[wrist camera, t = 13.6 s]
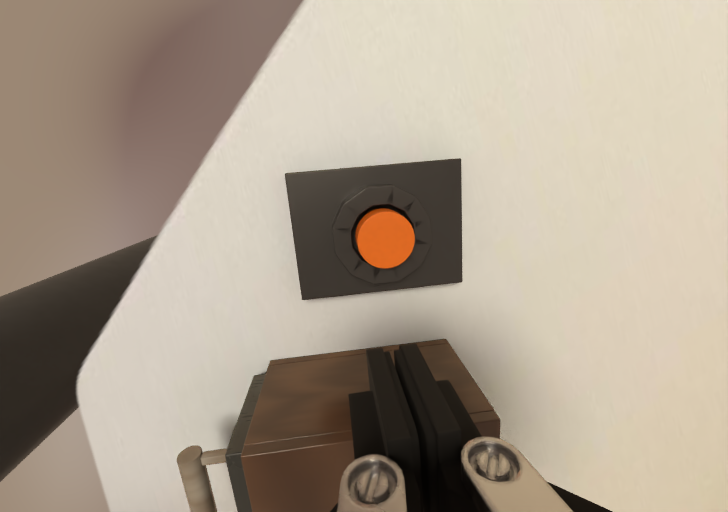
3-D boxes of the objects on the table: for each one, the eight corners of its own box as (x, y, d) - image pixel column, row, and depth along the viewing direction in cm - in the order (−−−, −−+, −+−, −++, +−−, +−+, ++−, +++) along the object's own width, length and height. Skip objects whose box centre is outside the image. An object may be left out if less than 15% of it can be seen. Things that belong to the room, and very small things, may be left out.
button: (357, 263, 23) (360, 271, 22) (353, 210, 22) (354, 214, 21) (410, 258, 23) (416, 265, 22) (407, 205, 23) (413, 208, 21)
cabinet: (291, 483, 31) (274, 618, 22) (269, 360, 28) (239, 456, 18) (448, 460, 32) (497, 579, 23) (446, 338, 29) (500, 419, 20)
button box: (303, 292, 27) (300, 310, 23) (287, 173, 24) (280, 174, 21) (454, 275, 27) (472, 290, 24) (452, 159, 25) (471, 157, 22)
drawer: (225, 496, 30) (189, 609, 22) (198, 382, 27) (146, 466, 19) (427, 466, 31) (458, 563, 23) (422, 353, 28) (456, 422, 20)
